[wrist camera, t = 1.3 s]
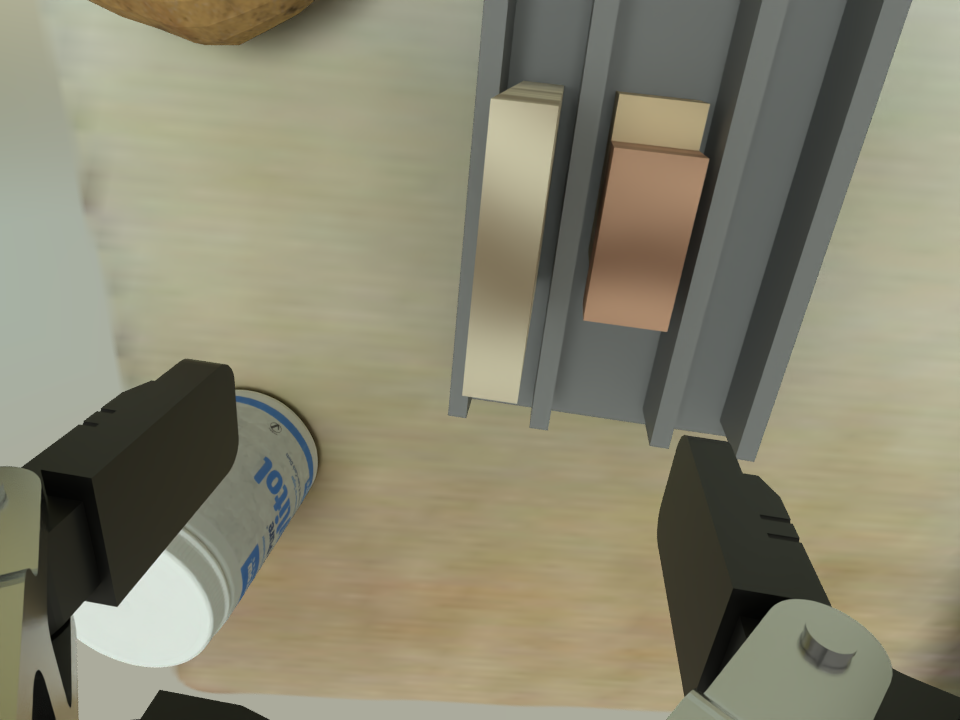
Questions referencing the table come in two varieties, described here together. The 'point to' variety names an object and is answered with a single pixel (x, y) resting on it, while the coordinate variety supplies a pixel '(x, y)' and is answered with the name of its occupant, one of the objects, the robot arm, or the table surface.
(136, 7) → the potato
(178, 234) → the table surface
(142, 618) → the supplement tub
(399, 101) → the table surface
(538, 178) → the sheet
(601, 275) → the offcut upper
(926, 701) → the robot arm
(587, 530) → the table surface
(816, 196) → the rack
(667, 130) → the offcut lower
